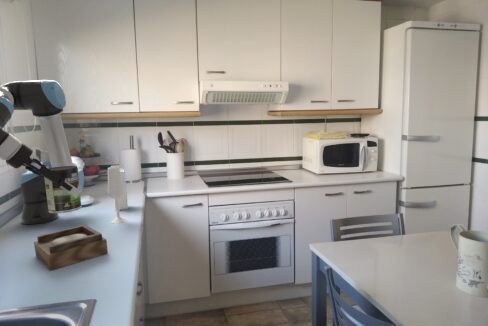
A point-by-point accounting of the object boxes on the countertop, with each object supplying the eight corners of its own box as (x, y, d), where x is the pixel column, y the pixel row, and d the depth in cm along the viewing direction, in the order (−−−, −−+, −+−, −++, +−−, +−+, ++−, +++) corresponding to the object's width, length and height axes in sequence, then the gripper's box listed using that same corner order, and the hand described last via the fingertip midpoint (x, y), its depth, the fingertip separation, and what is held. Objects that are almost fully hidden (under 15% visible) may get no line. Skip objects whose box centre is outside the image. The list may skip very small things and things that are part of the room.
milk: (114, 208, 188) (109, 165, 185) (126, 206, 191) (122, 163, 188) (115, 210, 183) (110, 166, 179) (128, 208, 185) (123, 165, 182)
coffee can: (88, 205, 128) (83, 165, 127) (68, 213, 119) (63, 170, 117) (62, 205, 131) (57, 165, 129) (40, 213, 121) (35, 170, 119)
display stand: (50, 270, 114) (47, 249, 113) (35, 255, 128) (33, 236, 127) (107, 253, 126) (105, 233, 125) (88, 241, 139) (86, 223, 138)
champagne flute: (114, 219, 168) (108, 166, 164) (129, 218, 167) (123, 166, 164) (108, 223, 161) (102, 169, 158) (123, 223, 161) (118, 168, 157)
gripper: (-3, 159, 120) (56, 197, 133) (12, 164, 104) (77, 207, 116) (14, 141, 123) (69, 180, 136) (31, 143, 106) (92, 187, 119)
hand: (73, 192), depth 126 cm, fingers closed on coffee can, 10 cm apart
